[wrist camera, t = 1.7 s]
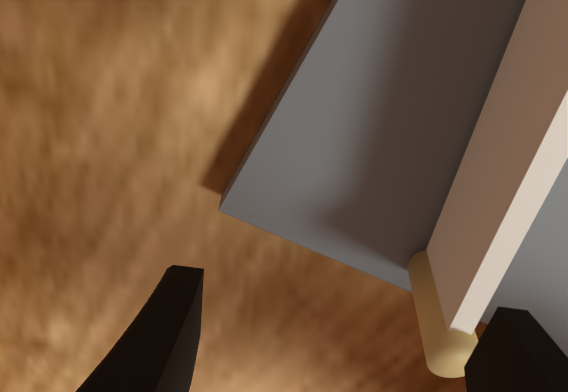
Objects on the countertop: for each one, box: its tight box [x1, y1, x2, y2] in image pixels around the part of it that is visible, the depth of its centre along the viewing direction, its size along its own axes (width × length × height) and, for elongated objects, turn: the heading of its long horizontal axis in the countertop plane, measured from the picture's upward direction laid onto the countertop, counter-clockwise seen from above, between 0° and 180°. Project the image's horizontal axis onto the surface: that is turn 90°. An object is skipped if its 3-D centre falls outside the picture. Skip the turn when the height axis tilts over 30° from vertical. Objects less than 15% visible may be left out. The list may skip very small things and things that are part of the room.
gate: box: [407, 0, 568, 378], centre depth 15 cm, size 13×2×4 cm, turn 173°
